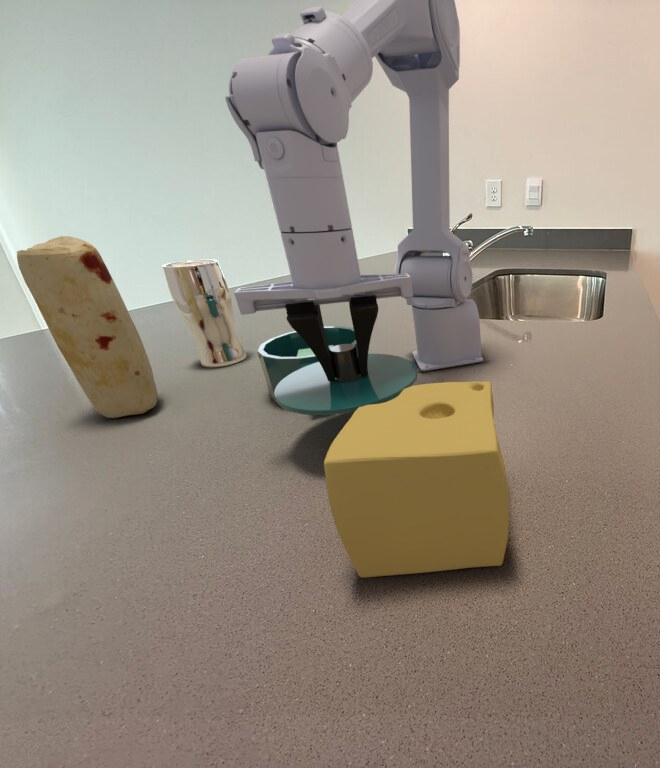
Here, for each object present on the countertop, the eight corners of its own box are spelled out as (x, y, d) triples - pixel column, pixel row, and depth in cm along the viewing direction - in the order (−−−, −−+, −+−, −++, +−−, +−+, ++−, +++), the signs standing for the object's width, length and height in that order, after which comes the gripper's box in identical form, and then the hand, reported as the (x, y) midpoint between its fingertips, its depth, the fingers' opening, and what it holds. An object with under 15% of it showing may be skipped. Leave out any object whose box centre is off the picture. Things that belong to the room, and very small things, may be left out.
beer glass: (225, 370, 61) (188, 267, 54) (186, 367, 62) (146, 266, 56) (259, 353, 67) (230, 259, 60) (224, 351, 68) (192, 259, 62)
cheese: (381, 485, 36) (361, 383, 32) (502, 476, 37) (498, 376, 33) (349, 587, 27) (314, 463, 22) (512, 573, 27) (508, 450, 23)
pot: (367, 357, 65) (359, 317, 62) (376, 406, 50) (367, 356, 47) (280, 369, 61) (268, 327, 58) (262, 427, 46) (244, 374, 43)
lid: (407, 355, 49) (402, 320, 47) (429, 403, 38) (424, 360, 36) (284, 373, 45) (274, 336, 43) (267, 434, 33) (252, 387, 32)
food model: (182, 406, 51) (111, 236, 42) (113, 430, 46) (17, 243, 37) (149, 388, 55) (80, 233, 47) (84, 409, 50) (-7, 239, 42)
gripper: (205, 239, 29) (259, 406, 35) (409, 229, 34) (427, 377, 40) (227, 231, 35) (270, 375, 41) (398, 223, 40) (415, 353, 46)
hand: (347, 374), depth 41 cm, fingers closed on lid, 2 cm apart
